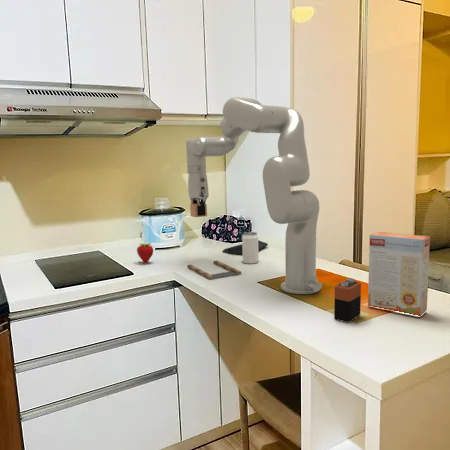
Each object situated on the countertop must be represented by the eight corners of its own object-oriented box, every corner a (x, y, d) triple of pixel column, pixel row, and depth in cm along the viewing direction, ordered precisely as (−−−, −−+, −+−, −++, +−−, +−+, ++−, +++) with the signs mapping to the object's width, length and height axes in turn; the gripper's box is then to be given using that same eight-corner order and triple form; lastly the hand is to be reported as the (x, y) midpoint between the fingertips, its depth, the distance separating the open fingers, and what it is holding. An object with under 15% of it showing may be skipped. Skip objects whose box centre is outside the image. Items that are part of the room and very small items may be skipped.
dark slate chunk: (273, 248, 198) (273, 238, 197) (246, 257, 181) (245, 247, 180) (247, 245, 207) (247, 235, 206) (218, 253, 190) (218, 243, 189)
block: (207, 216, 170) (206, 203, 169) (195, 217, 167) (195, 204, 167) (201, 215, 174) (201, 203, 173) (190, 216, 172) (190, 204, 171)
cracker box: (427, 312, 111) (431, 235, 108) (420, 319, 107) (423, 239, 104) (375, 301, 121) (377, 230, 117) (366, 307, 116) (369, 233, 113)
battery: (360, 315, 111) (361, 279, 109) (349, 323, 106) (349, 285, 104) (345, 312, 114) (346, 276, 112) (333, 319, 109) (333, 282, 107)
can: (258, 260, 174) (258, 231, 172) (258, 264, 168) (257, 234, 166) (243, 260, 175) (242, 231, 173) (242, 264, 168) (241, 234, 166)
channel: (241, 274, 153) (241, 271, 153) (209, 279, 147) (209, 276, 147) (216, 263, 171) (216, 260, 170) (187, 267, 165) (187, 264, 164)
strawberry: (144, 260, 179) (143, 237, 177) (157, 262, 174) (156, 239, 173) (134, 263, 174) (132, 239, 172) (147, 265, 170) (145, 241, 168)
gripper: (214, 169, 162) (216, 216, 165) (196, 169, 177) (198, 212, 180) (197, 170, 159) (199, 217, 161) (179, 170, 174) (182, 213, 176)
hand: (198, 214), depth 170 cm, fingers closed on block, 5 cm apart
